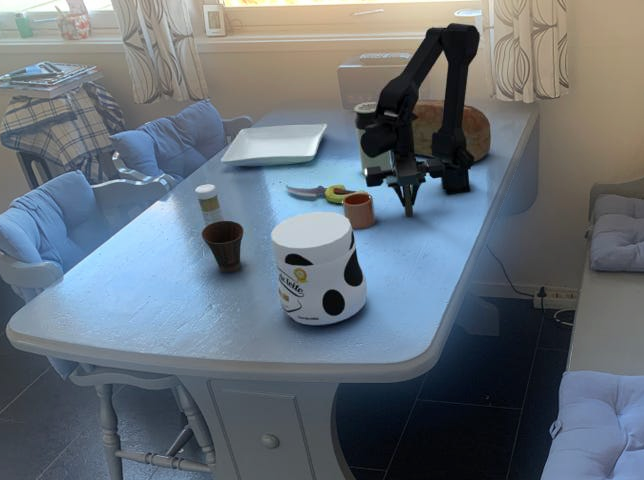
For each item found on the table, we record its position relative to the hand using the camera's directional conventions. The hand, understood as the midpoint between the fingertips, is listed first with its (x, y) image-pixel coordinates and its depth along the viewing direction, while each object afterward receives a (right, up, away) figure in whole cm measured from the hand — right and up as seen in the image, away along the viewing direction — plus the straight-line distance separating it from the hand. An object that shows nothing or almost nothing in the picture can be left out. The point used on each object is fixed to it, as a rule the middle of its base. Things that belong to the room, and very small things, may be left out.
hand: (408, 205), depth 184 cm
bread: (+8, +21, +33) cm, 40 cm away
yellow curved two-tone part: (-23, +5, +14) cm, 27 cm away
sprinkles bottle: (-45, -9, -2) cm, 46 cm away
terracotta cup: (-12, -4, 0) cm, 12 cm away
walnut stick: (0, -2, +2) cm, 2 cm away
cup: (-38, -17, -15) cm, 45 cm away
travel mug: (-10, +14, +25) cm, 31 cm away
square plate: (-41, +24, +42) cm, 64 cm away
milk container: (-15, -27, -31) cm, 44 cm away
